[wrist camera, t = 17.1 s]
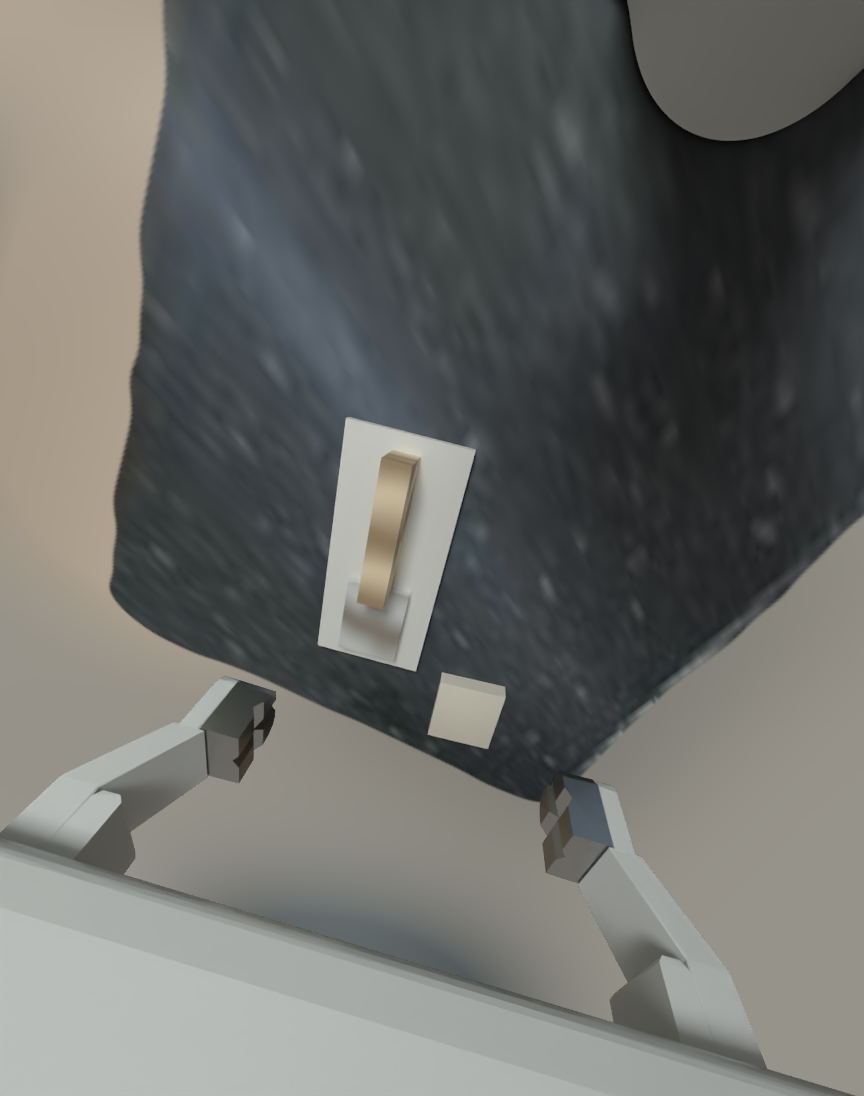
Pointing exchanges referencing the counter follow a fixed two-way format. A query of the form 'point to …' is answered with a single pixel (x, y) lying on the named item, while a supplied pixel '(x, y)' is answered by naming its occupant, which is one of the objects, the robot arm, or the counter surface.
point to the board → (424, 531)
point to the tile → (466, 710)
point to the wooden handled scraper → (381, 565)
